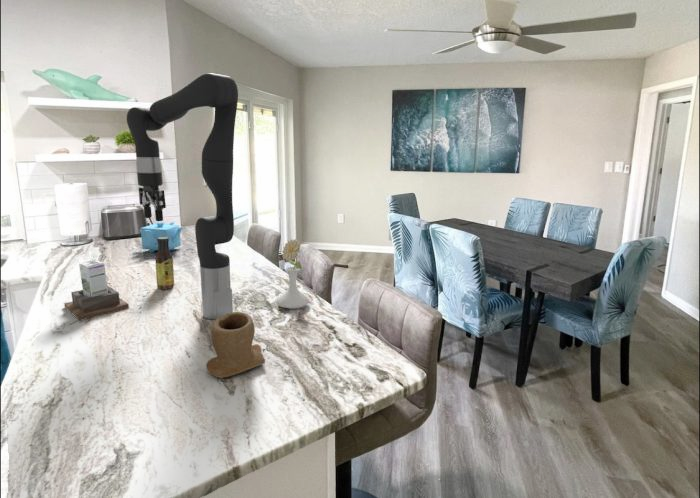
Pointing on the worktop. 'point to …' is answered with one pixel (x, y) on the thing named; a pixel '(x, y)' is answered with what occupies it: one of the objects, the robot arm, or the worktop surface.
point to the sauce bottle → (164, 265)
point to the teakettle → (160, 235)
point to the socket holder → (95, 304)
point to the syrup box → (93, 278)
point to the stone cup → (233, 345)
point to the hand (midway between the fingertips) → (153, 219)
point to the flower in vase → (292, 279)
